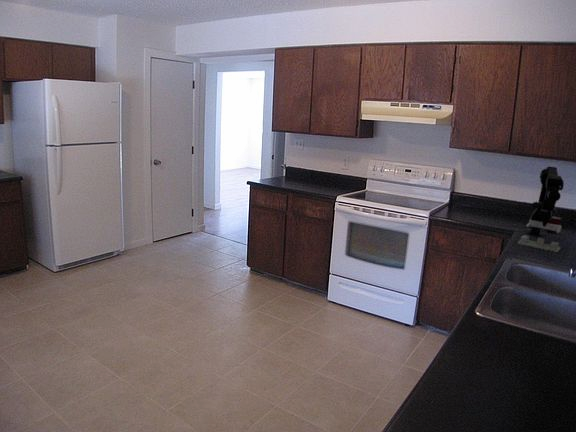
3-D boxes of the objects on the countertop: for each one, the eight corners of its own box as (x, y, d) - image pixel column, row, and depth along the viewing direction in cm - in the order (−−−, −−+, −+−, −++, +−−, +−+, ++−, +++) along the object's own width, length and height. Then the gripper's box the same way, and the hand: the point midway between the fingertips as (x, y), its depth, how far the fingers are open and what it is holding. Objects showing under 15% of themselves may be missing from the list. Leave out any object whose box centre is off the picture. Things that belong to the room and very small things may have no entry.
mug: (541, 229, 306) (544, 214, 304) (554, 231, 304) (558, 216, 302) (546, 233, 296) (549, 217, 294) (559, 235, 294) (563, 219, 292)
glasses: (529, 224, 268) (530, 219, 267) (560, 230, 259) (562, 225, 258) (526, 226, 261) (527, 221, 260) (558, 233, 252) (559, 227, 251)
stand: (522, 240, 272) (523, 233, 271) (560, 248, 260) (562, 242, 259) (517, 243, 264) (519, 236, 263) (557, 252, 252) (558, 245, 251)
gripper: (537, 194, 270) (532, 221, 273) (531, 197, 255) (525, 225, 259) (559, 198, 263) (553, 225, 267) (553, 201, 249) (547, 229, 252)
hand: (544, 226), depth 261 cm, fingers closed on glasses, 2 cm apart
